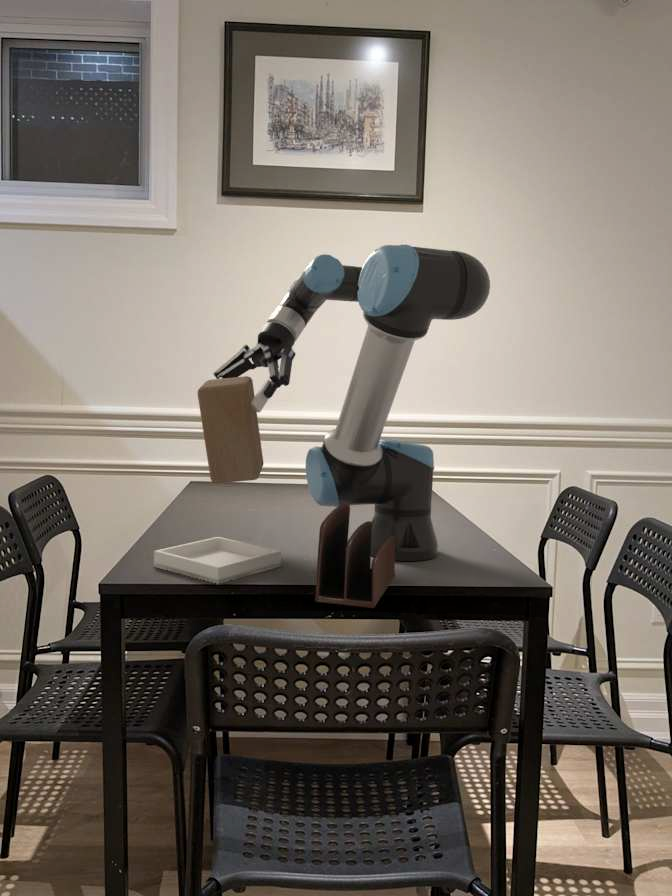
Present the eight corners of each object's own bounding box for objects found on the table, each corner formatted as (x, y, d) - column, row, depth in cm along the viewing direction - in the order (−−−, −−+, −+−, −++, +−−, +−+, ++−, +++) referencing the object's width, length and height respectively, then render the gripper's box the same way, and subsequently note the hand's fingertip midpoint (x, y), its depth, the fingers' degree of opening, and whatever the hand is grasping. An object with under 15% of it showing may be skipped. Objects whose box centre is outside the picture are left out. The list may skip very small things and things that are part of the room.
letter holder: (314, 603, 130) (317, 518, 128) (342, 572, 149) (345, 498, 147) (374, 609, 127) (378, 523, 126) (395, 577, 147) (398, 502, 145)
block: (259, 481, 161) (246, 384, 156) (210, 485, 161) (195, 389, 156) (264, 466, 170) (252, 374, 165) (218, 470, 171) (204, 379, 166)
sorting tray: (280, 566, 151) (281, 550, 150) (217, 584, 137) (218, 567, 137) (218, 551, 160) (218, 536, 160) (153, 566, 147) (153, 550, 147)
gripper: (333, 345, 167) (285, 422, 157) (248, 344, 183) (200, 414, 173) (316, 319, 162) (266, 396, 153) (231, 320, 178) (180, 391, 168)
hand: (231, 406), depth 163 cm, fingers closed on block, 13 cm apart
